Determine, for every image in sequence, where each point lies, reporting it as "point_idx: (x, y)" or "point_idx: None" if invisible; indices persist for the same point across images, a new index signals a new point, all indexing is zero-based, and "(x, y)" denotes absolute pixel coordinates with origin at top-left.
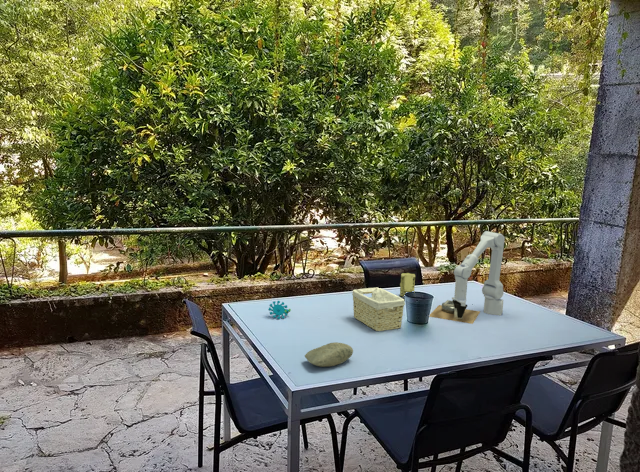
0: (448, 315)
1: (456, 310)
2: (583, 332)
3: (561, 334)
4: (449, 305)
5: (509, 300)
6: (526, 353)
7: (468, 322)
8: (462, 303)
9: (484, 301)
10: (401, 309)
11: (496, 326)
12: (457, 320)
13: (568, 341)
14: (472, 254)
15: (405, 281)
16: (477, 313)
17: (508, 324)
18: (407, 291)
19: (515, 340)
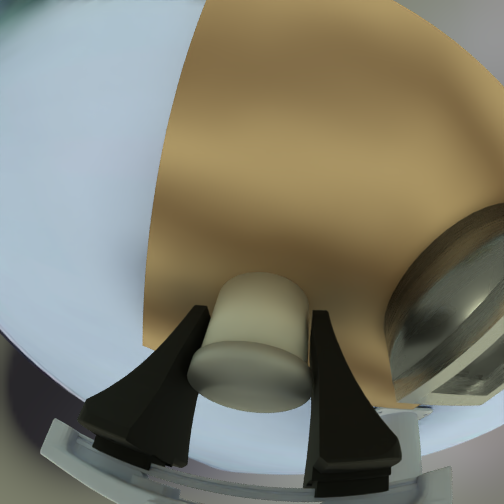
0: (340, 229)
1: (198, 358)
2: (231, 465)
3: (199, 450)
4: (483, 321)
5: (485, 427)
6: (21, 350)
7: (158, 335)
8: (50, 445)
9: (406, 466)
10: None
11: (198, 403)
12: (169, 279)
13: None
14: None
15: None
16: (381, 402)
17: (245, 429)
18: None
19: (79, 378)
